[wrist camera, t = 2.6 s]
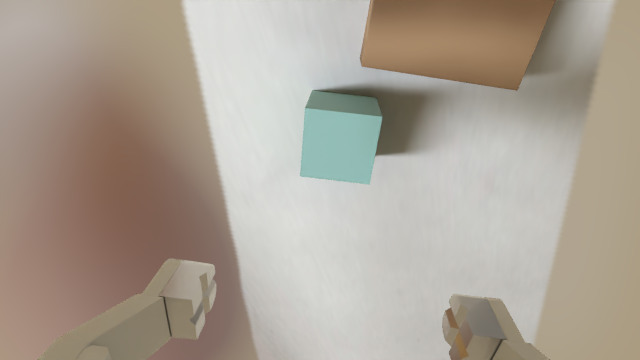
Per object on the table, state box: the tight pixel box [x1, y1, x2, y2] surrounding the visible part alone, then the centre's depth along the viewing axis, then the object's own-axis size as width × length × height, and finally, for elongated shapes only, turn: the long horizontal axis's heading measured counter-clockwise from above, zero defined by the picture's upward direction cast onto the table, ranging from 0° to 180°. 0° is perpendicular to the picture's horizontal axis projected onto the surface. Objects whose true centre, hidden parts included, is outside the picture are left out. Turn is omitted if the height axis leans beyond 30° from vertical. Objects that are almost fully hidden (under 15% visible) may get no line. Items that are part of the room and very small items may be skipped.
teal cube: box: [300, 90, 382, 184], centre depth 24 cm, size 5×5×5 cm
